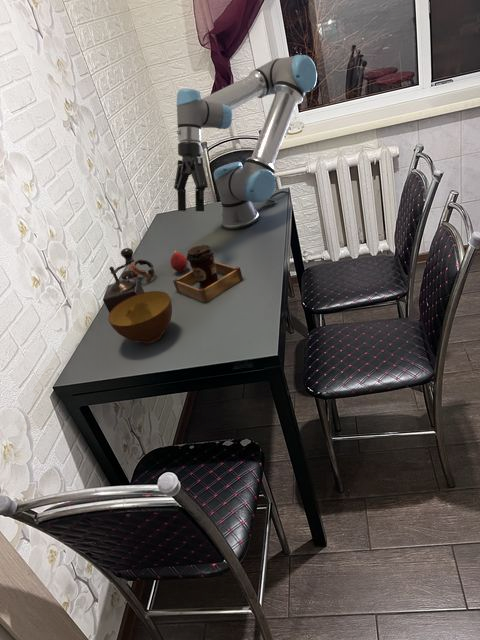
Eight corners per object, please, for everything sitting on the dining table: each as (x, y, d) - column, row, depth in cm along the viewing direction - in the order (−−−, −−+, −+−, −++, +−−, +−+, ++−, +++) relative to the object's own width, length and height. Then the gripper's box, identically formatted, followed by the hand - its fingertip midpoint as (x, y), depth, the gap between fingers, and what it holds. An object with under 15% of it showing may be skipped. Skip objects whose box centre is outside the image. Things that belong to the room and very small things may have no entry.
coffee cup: (206, 295, 149) (194, 257, 141) (192, 288, 154) (179, 252, 147) (227, 282, 152) (216, 245, 145) (212, 276, 158) (201, 241, 151)
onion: (187, 274, 164) (179, 254, 160) (172, 276, 166) (164, 256, 161) (192, 267, 169) (185, 246, 164) (177, 268, 170) (170, 248, 166)
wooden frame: (213, 270, 162) (210, 258, 160) (243, 279, 152) (239, 267, 149) (176, 291, 155) (172, 280, 153) (205, 303, 144) (201, 291, 142)
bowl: (170, 353, 126) (157, 322, 120) (112, 358, 130) (97, 328, 125) (189, 317, 139) (178, 288, 134) (136, 322, 144) (123, 294, 138)
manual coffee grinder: (148, 316, 145) (126, 264, 135) (114, 325, 146) (89, 274, 135) (152, 293, 158) (132, 244, 148) (120, 301, 159) (98, 253, 148)
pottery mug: (141, 273, 175) (145, 255, 170) (157, 288, 172) (161, 269, 166) (114, 281, 167) (116, 262, 161) (130, 297, 163) (133, 277, 158)
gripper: (163, 145, 161) (165, 210, 167) (196, 137, 141) (197, 211, 147) (183, 147, 165) (184, 210, 171) (218, 140, 145) (218, 211, 151)
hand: (190, 211), depth 159 cm, fingers open, 13 cm apart
